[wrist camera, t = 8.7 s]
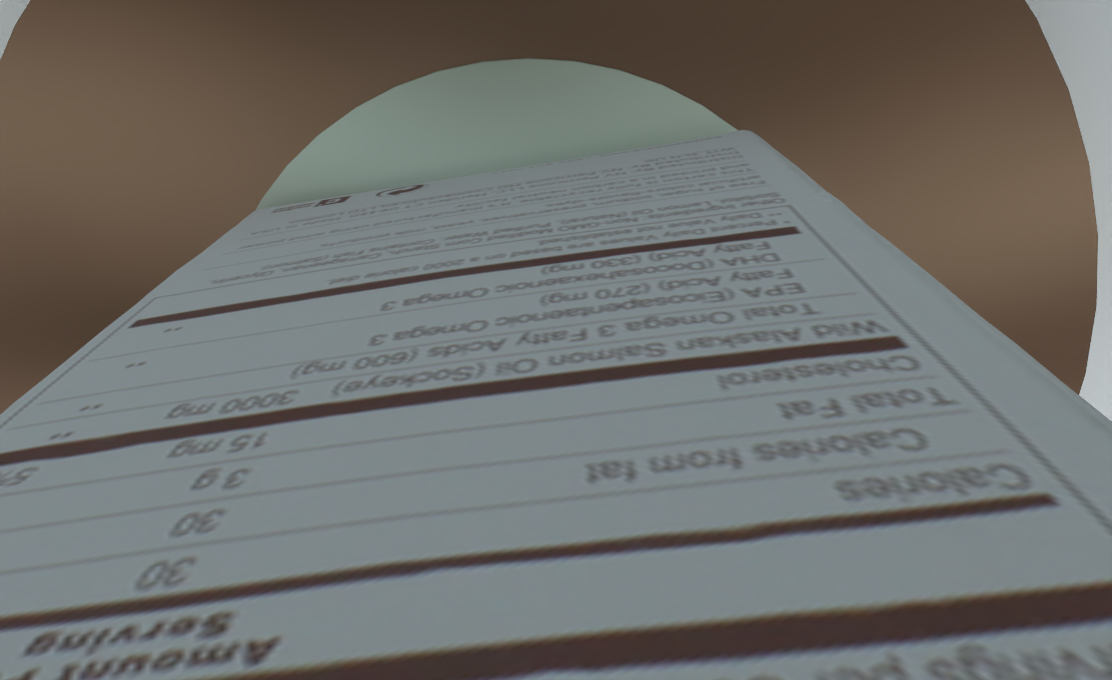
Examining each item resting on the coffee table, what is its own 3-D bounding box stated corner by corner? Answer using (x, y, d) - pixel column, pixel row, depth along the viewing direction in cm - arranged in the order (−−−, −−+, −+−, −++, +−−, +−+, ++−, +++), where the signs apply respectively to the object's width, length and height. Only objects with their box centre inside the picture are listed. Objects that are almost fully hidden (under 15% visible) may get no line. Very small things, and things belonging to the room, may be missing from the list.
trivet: (-119, -247, 13) (-213, -277, 11) (1163, -252, 13) (1249, -283, 11) (120, 735, 20) (83, 802, 18) (958, 725, 20) (993, 791, 18)
